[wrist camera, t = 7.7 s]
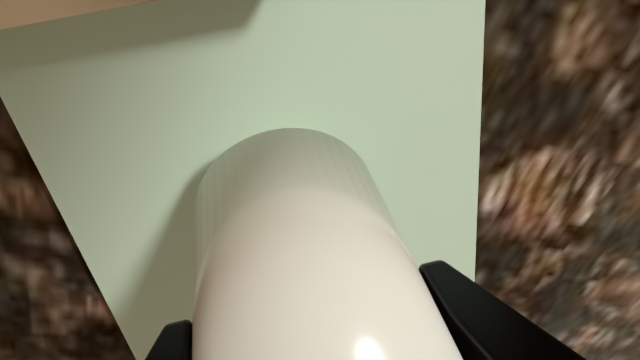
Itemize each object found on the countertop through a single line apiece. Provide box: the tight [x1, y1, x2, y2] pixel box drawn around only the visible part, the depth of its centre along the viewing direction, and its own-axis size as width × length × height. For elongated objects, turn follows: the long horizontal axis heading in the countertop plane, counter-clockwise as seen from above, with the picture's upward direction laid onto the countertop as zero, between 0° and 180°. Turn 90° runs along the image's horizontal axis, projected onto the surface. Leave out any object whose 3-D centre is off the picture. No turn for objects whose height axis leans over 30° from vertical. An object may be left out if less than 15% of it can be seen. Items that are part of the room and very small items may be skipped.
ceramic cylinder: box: [192, 128, 463, 360], centre depth 9 cm, size 4×4×6 cm
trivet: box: [0, 0, 485, 360], centre depth 13 cm, size 10×10×1 cm
